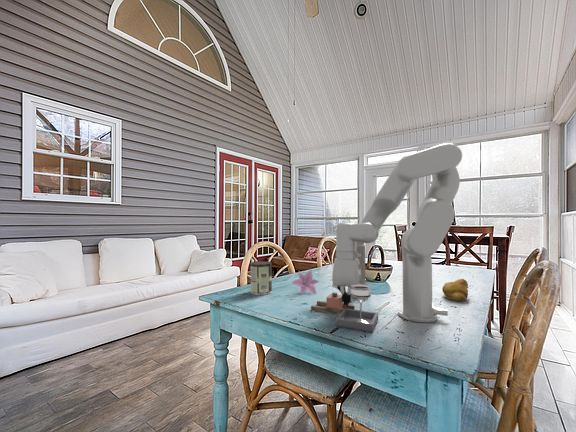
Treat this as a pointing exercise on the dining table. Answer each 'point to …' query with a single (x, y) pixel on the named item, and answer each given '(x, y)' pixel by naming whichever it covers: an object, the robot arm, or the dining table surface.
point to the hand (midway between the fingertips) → (346, 304)
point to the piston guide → (329, 310)
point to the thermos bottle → (361, 260)
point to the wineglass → (360, 296)
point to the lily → (306, 282)
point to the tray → (348, 321)
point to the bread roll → (456, 290)
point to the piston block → (334, 301)
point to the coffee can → (261, 277)
